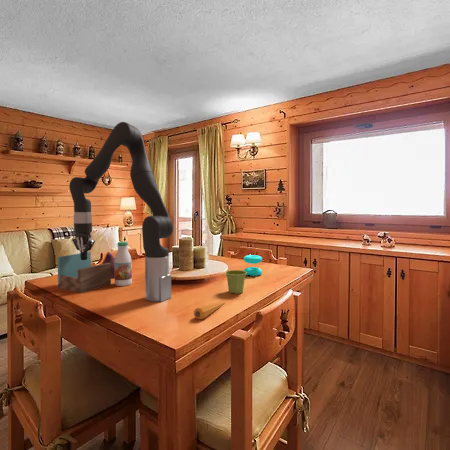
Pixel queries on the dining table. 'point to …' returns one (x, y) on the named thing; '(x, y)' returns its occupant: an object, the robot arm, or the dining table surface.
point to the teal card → (72, 265)
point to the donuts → (253, 260)
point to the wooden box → (87, 279)
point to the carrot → (206, 310)
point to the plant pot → (235, 280)
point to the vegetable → (111, 260)
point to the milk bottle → (123, 265)
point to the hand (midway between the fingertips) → (83, 259)
